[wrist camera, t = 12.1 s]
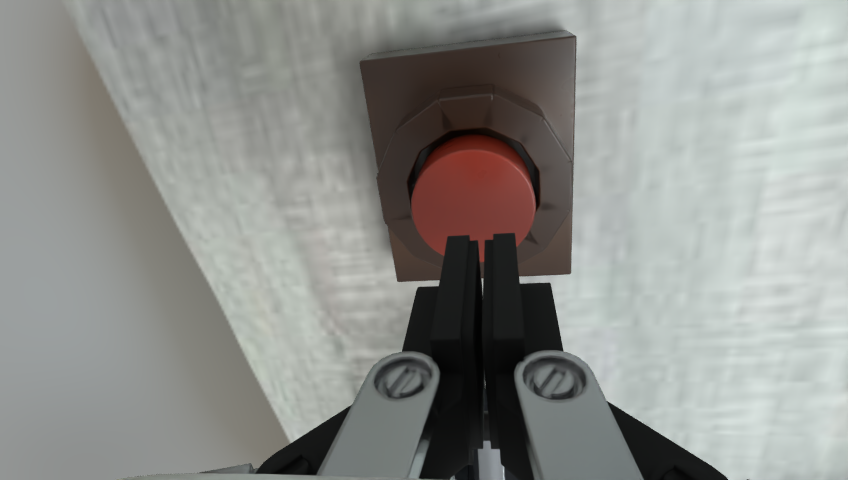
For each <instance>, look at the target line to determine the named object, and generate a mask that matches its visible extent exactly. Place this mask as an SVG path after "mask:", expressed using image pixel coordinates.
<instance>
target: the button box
mask: <svg viewBox="0 0 848 480" xmlns="http://www.w3.org/2000/svg"><path fill="white" fill-rule="evenodd" d="M360 69H361V74H362V80H363V86H364V92H365V98H366V103H367V109H368V115H369V121H370V126H371V132H372V138H373V144H374V150H375V155H376V161H377V167H378V173H377V183H378V189H379V194H380V200H381V206H382V211H383V217H384V221H385V223H386V224H387V226H388V230H389V236H390V242H391V248H392V253H393V259H394V265H395V271H396V277H397V281H398V282H406V281H428V280H440V277H441V271H442V265H443V260H444V256H443V255H441V254H439V253H438V252H436V251H435V250H434V249H432V248H431V247H430V246H429V245H428V244H427V243H426V242H425V241H424V240H423V238H422V237H421V236H420V234H419V233H418V231H417V229H416V227H415V224H414V221H413V217H412V212H411V199H412V194H413V190H414V187H415V184H416V181H417V178H418V175H419V172H420V170H421V167H422V165H423V163H424V161H425V160H426V158H427V157H428V156H429V155H430V153H431V152H432V151H433V150H434V149H436V148H437V147H438V146H439V145H441V144H442V143H444V142H446V141H448V140H450V139H452V138H455V137H459V136H463V135H471V134H478V135H486V136H490V137H494V138H496V139H499V140H501V141H503V142H505V143H507V144H508V145H509V146H511V147H512V148H513V149H514V150H515V151H516V152H517V153H518V154H519V155H520V156H521V158H522V159H523V161H524V162H525V164H526V166H527V168H528V171H529V174H530V178H531V182H532V186H533V190H534V195H535V201H536V211H535V217H534V221H533V224H532V227H531V229H530V230H529V232H528V234H527V235H526V237H525V238H524V240H523V241H522V242H521V243H520V244H519V245H518V246H517V247H516V250H517V261H518V272H519V276H541V275H563V274H571V252H572V209H573V165H574V122H575V79H576V36H575V35H573V34H572V33H570V32H568V31H557V32H549V33H540V34H532V35H524V36H515V37H507V38H498V39H490V40H482V41H473V42H465V43H456V44H448V45H440V46H431V47H423V48H414V49H406V50H398V51H389V52H381V53H372V54H370V55H369V56H367V57H366V58H364V59H362V60H361V61H360ZM480 268H481V278H484V262H480Z"/></svg>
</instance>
